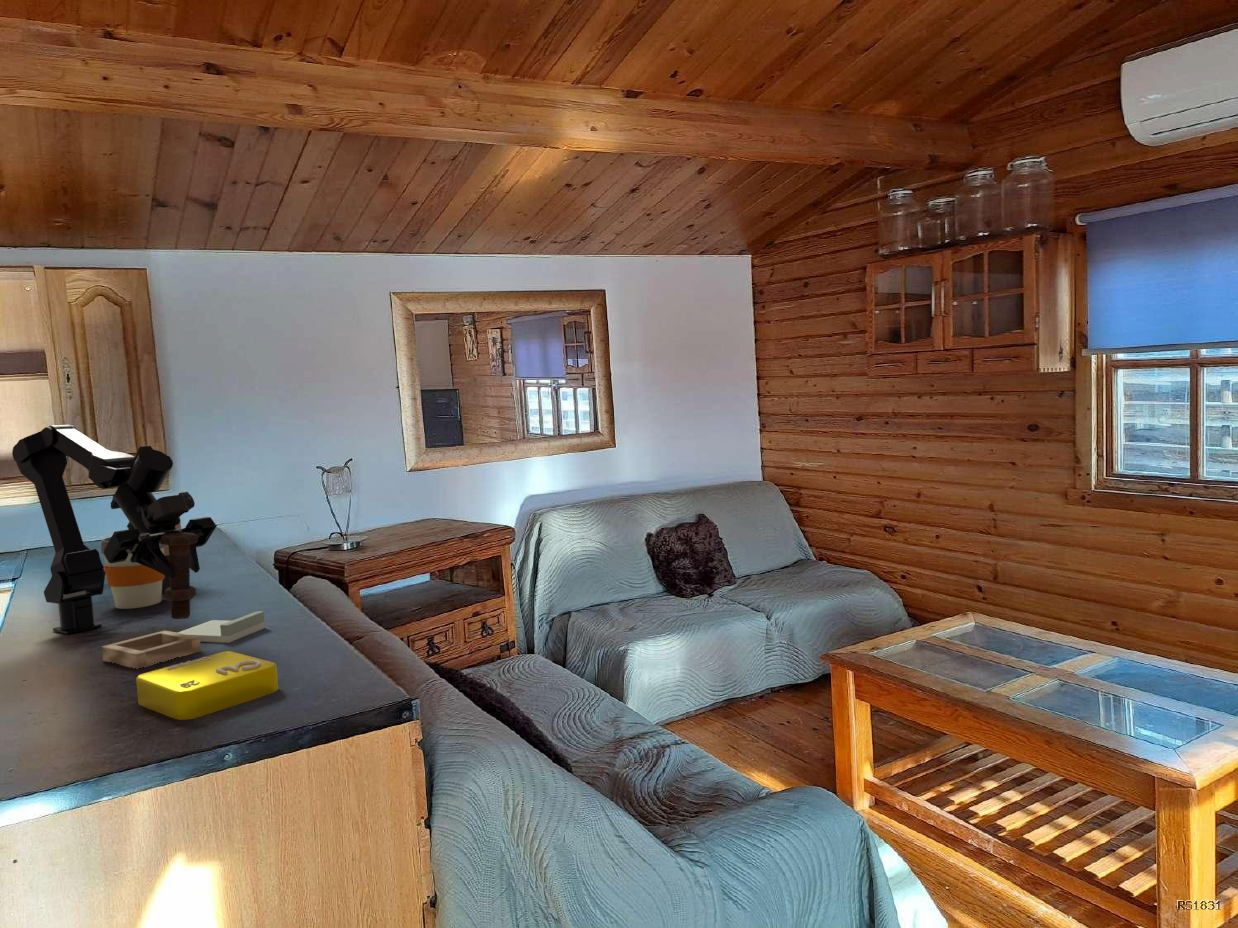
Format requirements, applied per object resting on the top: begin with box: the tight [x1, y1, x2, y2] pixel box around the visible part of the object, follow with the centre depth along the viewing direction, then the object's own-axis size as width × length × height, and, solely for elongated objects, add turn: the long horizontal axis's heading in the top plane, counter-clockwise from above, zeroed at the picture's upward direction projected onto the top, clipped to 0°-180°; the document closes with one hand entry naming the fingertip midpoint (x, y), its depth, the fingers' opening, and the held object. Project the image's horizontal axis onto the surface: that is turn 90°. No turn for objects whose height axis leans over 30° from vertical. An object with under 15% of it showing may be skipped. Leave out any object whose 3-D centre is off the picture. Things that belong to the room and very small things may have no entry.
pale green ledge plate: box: [177, 610, 266, 644], centre depth 163 cm, size 12×10×3 cm
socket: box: [101, 629, 202, 670], centre depth 151 cm, size 11×11×2 cm
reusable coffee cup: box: [100, 536, 166, 610], centre depth 193 cm, size 13×13×15 cm
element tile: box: [135, 650, 279, 721], centre depth 128 cm, size 15×15×5 cm
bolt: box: [161, 533, 197, 620], centre depth 155 cm, size 6×5×15 cm
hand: (185, 573), depth 155 cm, fingers closed on bolt, 4 cm apart
